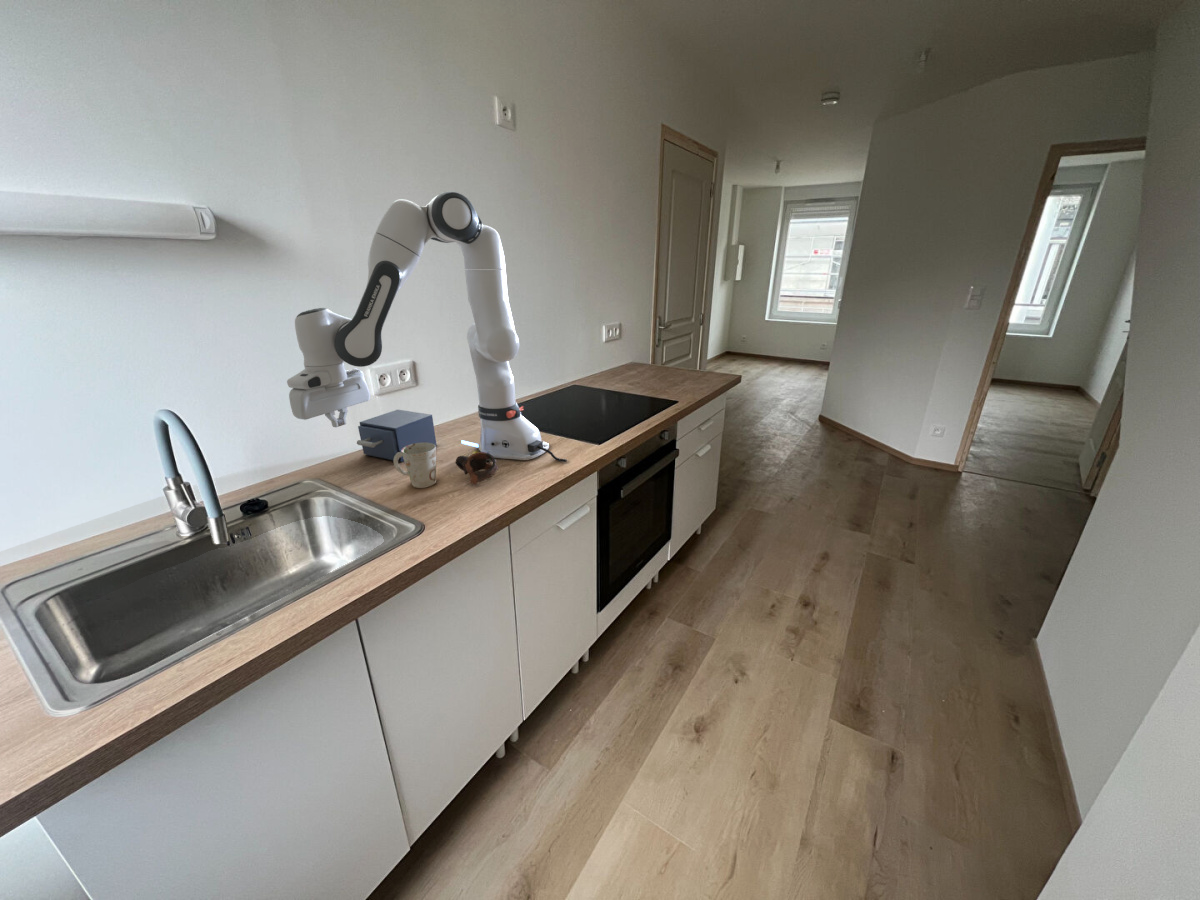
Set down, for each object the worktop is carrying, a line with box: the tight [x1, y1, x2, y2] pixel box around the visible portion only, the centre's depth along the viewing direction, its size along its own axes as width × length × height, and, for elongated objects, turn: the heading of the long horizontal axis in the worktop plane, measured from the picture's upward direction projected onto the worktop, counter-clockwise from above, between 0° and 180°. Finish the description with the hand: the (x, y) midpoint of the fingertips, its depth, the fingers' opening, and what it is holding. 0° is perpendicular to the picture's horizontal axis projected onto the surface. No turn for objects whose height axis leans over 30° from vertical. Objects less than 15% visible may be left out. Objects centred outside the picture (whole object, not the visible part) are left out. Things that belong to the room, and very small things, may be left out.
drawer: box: [356, 425, 398, 461], centre depth 137 cm, size 18×13×9 cm
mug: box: [392, 443, 437, 489], centre depth 118 cm, size 8×13×10 cm, turn 78°
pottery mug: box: [455, 451, 500, 486], centre depth 122 cm, size 12×10×8 cm
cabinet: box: [359, 409, 438, 463], centre depth 140 cm, size 15×15×11 cm
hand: (339, 425), depth 121 cm, fingers closed
